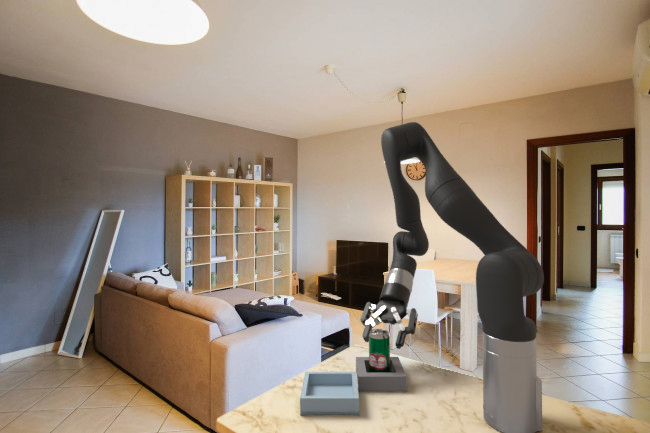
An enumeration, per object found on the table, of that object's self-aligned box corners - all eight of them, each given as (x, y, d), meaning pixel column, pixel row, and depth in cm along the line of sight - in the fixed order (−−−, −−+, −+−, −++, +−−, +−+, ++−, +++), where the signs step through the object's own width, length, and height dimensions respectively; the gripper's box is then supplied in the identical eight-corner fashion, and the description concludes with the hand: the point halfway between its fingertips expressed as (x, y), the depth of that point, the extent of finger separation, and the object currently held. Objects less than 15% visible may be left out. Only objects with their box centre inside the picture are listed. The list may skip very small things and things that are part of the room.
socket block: (398, 370, 91) (398, 356, 91) (406, 391, 80) (406, 376, 80) (356, 370, 91) (355, 356, 91) (358, 391, 80) (358, 376, 80)
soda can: (366, 383, 84) (366, 333, 84) (372, 374, 89) (371, 327, 89) (387, 387, 82) (387, 336, 82) (392, 377, 87) (391, 329, 87)
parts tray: (355, 386, 83) (355, 371, 83) (359, 415, 71) (359, 398, 71) (305, 386, 83) (305, 371, 83) (300, 415, 71) (300, 398, 71)
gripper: (369, 278, 98) (350, 331, 88) (419, 283, 90) (405, 342, 81) (377, 293, 102) (360, 345, 93) (425, 299, 95) (412, 356, 85)
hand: (381, 343), depth 87 cm, fingers open, 8 cm apart
